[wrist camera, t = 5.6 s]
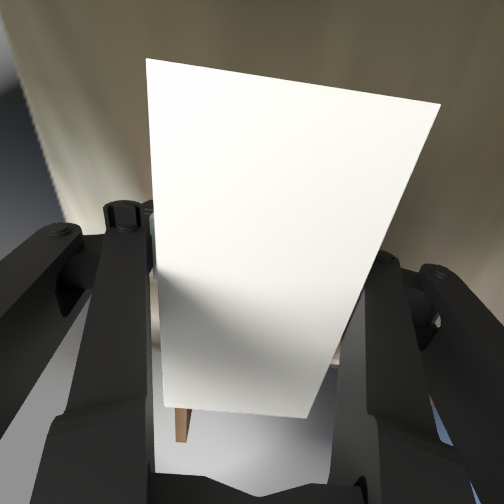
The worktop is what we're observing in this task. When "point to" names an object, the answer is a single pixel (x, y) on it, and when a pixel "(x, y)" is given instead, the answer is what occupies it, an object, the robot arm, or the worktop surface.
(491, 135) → the worktop surface
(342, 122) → the product carton
